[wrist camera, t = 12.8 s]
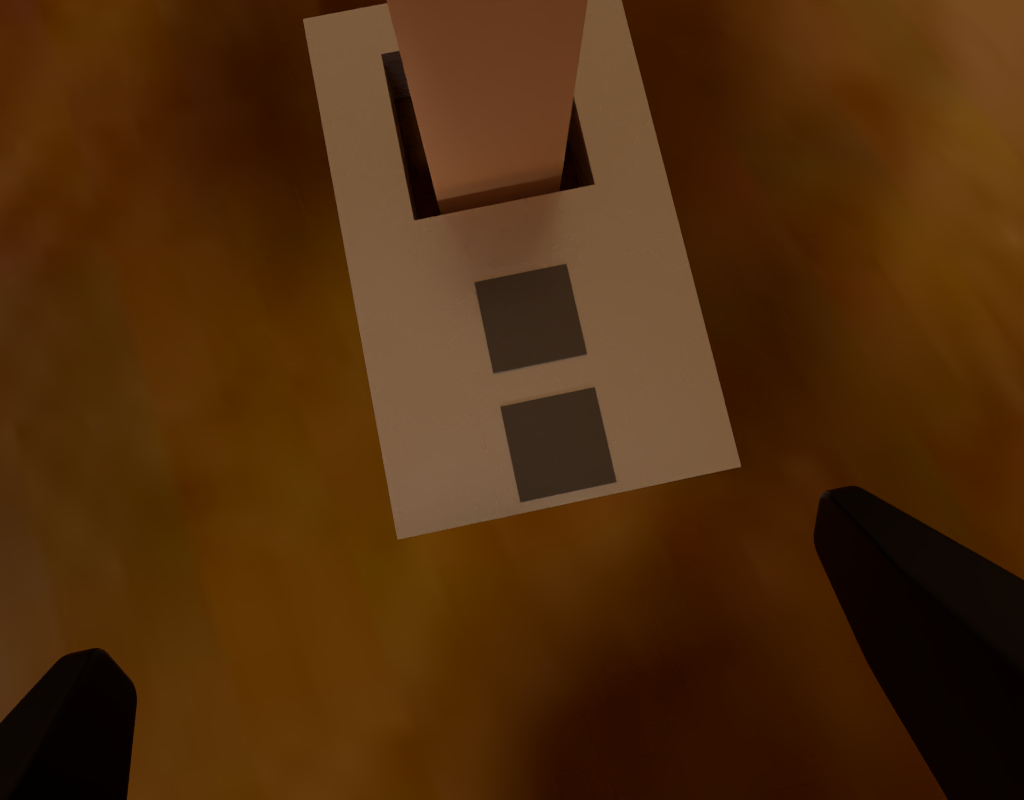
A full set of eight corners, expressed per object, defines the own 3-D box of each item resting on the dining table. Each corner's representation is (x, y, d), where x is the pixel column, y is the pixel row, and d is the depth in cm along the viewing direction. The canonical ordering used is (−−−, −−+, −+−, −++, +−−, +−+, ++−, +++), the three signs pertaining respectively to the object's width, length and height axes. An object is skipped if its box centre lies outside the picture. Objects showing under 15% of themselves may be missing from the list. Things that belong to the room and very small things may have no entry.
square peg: (559, 202, 24) (624, -219, 10) (441, 225, 24) (340, -166, 10) (534, 93, 24) (562, -448, 10) (419, 115, 24) (293, -402, 10)
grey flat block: (715, 470, 22) (742, 466, 20) (410, 535, 22) (397, 539, 20) (601, 14, 25) (612, -42, 22) (324, 68, 24) (301, 17, 22)
